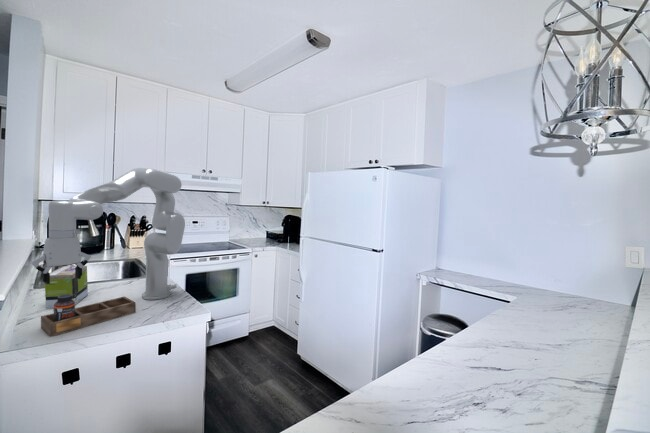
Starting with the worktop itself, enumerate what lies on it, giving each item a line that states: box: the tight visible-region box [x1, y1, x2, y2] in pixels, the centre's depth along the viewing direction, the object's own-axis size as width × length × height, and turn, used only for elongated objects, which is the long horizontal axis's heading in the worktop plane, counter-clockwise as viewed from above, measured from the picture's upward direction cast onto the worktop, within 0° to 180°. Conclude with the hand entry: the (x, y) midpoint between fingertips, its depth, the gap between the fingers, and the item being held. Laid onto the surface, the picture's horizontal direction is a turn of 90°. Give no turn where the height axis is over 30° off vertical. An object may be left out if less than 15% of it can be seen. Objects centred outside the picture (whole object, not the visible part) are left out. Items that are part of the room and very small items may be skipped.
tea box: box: [44, 265, 89, 309], centre depth 135 cm, size 15×10×15 cm
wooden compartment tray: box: [40, 296, 137, 337], centre depth 120 cm, size 28×10×5 cm, turn 148°
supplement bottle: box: [53, 294, 76, 322], centre depth 113 cm, size 6×6×11 cm
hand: (63, 280), depth 111 cm, fingers open, 8 cm apart
